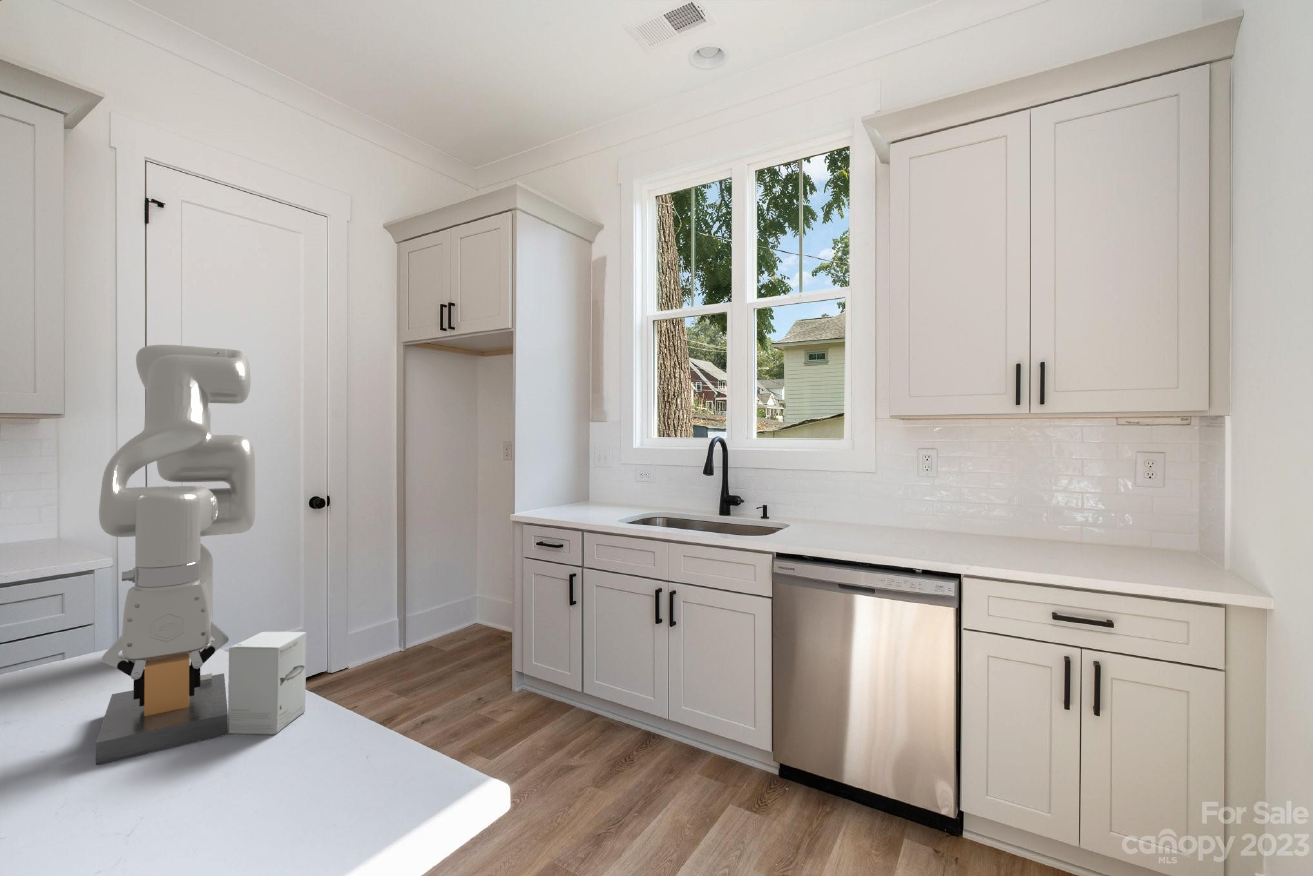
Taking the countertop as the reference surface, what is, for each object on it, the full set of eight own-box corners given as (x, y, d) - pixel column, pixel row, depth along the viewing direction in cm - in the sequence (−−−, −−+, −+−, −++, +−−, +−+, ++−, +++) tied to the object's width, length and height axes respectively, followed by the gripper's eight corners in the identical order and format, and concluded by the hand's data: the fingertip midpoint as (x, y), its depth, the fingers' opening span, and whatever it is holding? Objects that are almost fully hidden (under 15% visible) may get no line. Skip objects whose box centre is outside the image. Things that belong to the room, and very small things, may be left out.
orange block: (148, 707, 93) (148, 650, 92) (189, 699, 96) (190, 643, 95) (144, 728, 86) (144, 667, 86) (188, 719, 89) (189, 659, 89)
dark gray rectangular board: (111, 713, 93) (112, 689, 93) (224, 691, 102) (224, 668, 101) (95, 766, 79) (95, 736, 79) (227, 734, 87) (227, 708, 87)
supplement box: (276, 735, 87) (277, 647, 87) (225, 734, 87) (226, 646, 87) (307, 712, 95) (308, 631, 94) (260, 711, 95) (260, 630, 95)
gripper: (86, 588, 82) (85, 723, 82) (239, 572, 92) (238, 692, 92) (94, 578, 88) (93, 703, 88) (237, 563, 98) (236, 676, 98)
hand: (167, 696), depth 90 cm, fingers closed on orange block, 4 cm apart
